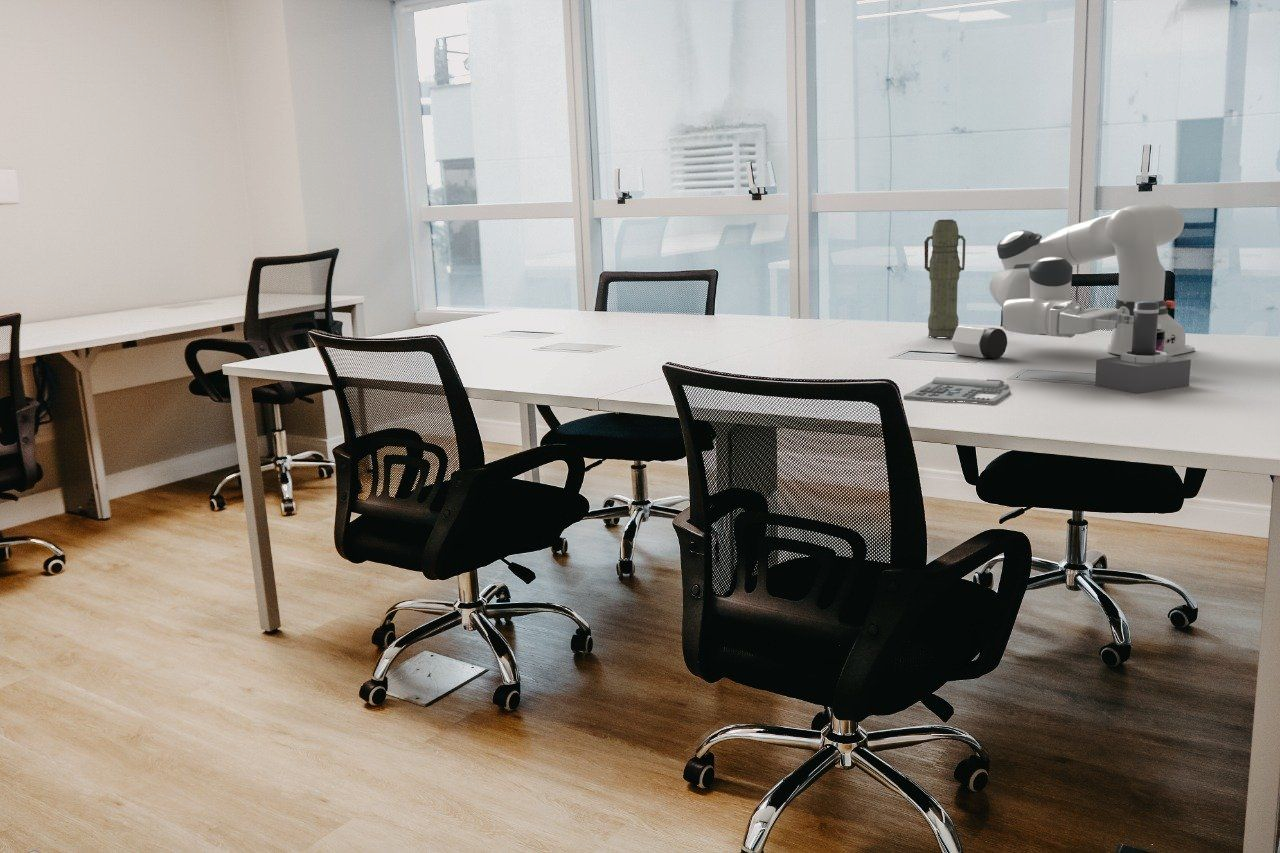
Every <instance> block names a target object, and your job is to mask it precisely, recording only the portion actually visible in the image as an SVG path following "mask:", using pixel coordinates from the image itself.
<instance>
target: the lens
mask: <svg viewBox="0 0 1280 853" xmlns="http://www.w3.org/2000/svg"><path fill="white" fill-rule="evenodd" d="M1158 308H1159V302H1155V301H1137V302H1135V303H1134V311H1133V312H1134V319H1133V334H1132V350H1131V354H1132V355H1144V356H1153V355H1155V352H1156V337H1157V323H1158V313H1159V309H1158Z"/></svg>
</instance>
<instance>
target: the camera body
mask: <svg viewBox="0 0 1280 853" xmlns="http://www.w3.org/2000/svg"><path fill="white" fill-rule="evenodd" d="M1191 362H1192V360H1191V358H1190V359H1189V358H1184V357H1176V356H1167V354H1166V352H1162V351H1156V352H1155V355H1153V356H1144V355H1132V354H1131V350H1127V351H1121V355H1119V356H1113V357H1106V358H1105V357H1104V358H1099V359H1098V358H1097V359H1096V364H1095V365H1096V366H1095V379H1094V380H1095V381H1094V386H1097V385H1098V386H1097V387H1102V386H1103V387H1102V388H1107V389H1113V390H1116V391H1117V390H1118V391H1123V392H1127V393H1128V392H1129V393H1133V394H1142V393H1150V392H1156V391H1162V390H1169V389H1175V388H1181V387H1188V386H1190V377H1191V376H1190V375H1191Z"/></svg>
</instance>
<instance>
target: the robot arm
mask: <svg viewBox="0 0 1280 853" xmlns="http://www.w3.org/2000/svg"><path fill="white" fill-rule="evenodd" d="M1184 227H1185V219H1184V215H1183V213H1182V212H1181V210H1179V209H1178V208H1177V207H1175V206H1172V205H1169V204H1166V203H1148V204H1147V203H1146V204H1136V205H1135V204H1134V205H1133V204H1132V205H1128V206H1125V207H1122V208H1119V209H1118V210H1116V211H1114V212H1113V213H1112V214H1109V215H1108V214H1107V215H1104V216H1098V217H1095V218H1092V219H1089V220H1088V219H1087V220H1085V221H1082V222H1081V221H1080V222H1077V223H1074V224H1072V225H1068V226H1066V227H1062V228H1060V229H1058V230H1055V231H1054V232H1052V233H1050V234H1048V235H1047V236H1045V237H1044V238H1043V235H1042V234H1041V233H1038V232H1037V233H1034V232H1033V231H1031V230H1030V231H1029V230H1024V229H1021V230H1018V231H1013V232H1010V233H1008V234H1006V235H1005V236H1004V237H1003V238H1002V239H1001V240H1000V241H999V242H998V244H997V246H996V251H997V255H998V258H999V259H1001V263H1002V266H1003V269H1002V270H1000V271H998V272H996V273H995V274H994V275H993V276H992V278H991V279H990V282H989V292H990V296H991V297H992V299H993V301H994V302H996V304H997V305H999V306H1000V307H1001V310H1000V320H1001V322H1000V323H1001V325H1002V328H1003V329H1004V330H1005V331H1009V332H1012V333H1016V334H1017V333H1018V334H1023V335H1032V336H1035V335H1039V336H1048V337H1049V336H1050V337H1059V338H1071V339H1072V338H1073V337H1074V336H1076V335H1083V334H1088V333H1092V332H1096V331H1099V330H1107V329H1108V330H1112V333H1111V338H1110V339H1111V340H1110V344H1108V345H1107V351H1108V353H1109V354H1112V355H1113V354H1114V355H1119V356H1121V351H1127V350H1132V334H1133V319H1134V312H1133V311H1134V303H1135V302H1137V301H1155V302H1159V308H1158V309H1159V313H1158V323H1157V329H1161V330H1165V343H1164V352H1166V354H1167V356H1171V357H1174V356H1178V355H1181V354H1187V353H1191V352H1195V351H1196V348H1195V346H1193V345H1189V344H1186V331H1185V328H1184V327H1183V326H1182V325H1181V324H1180V323H1178V322H1177V320H1175V319H1174V318H1173V317H1172V316H1171V315H1169V310H1168V309H1172V310H1173V309H1175V307H1176V301H1174V300H1165V299H1164V298H1165V284H1166V270H1165V267H1164V266H1163V265H1162V264H1161V261H1160V258H1159V253H1158V247H1160V246H1163V245H1166V244H1168V243H1171V242H1173V241H1174V240H1176V239H1177V238H1178V237H1180V235H1181V234H1182V232H1183V230H1184ZM1042 238H1043V239H1042ZM1115 256H1116V260H1117V265H1118V290H1117V291H1118V292H1117V293H1118V294H1117V299H1116V301H1115V306H1114V307H1115V308H1109V307H1108V308H1107V307H1092V308H1086V309H1085V308H1084V307H1083V306H1081V305H1080V304H1079V303H1080V302H1078V301H1077V300H1075V299H1074V300H1072V278H1073V271H1074V270H1073V266H1078V265H1083V264H1086V263H1091V262H1094V261H1098V260H1099V261H1100V260H1102V259H1106V258H1109V257H1115Z"/></svg>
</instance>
